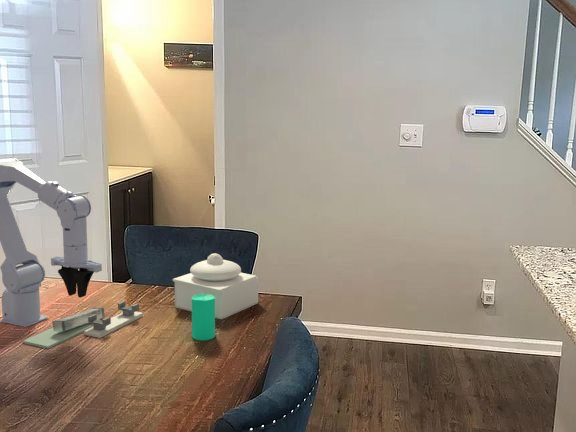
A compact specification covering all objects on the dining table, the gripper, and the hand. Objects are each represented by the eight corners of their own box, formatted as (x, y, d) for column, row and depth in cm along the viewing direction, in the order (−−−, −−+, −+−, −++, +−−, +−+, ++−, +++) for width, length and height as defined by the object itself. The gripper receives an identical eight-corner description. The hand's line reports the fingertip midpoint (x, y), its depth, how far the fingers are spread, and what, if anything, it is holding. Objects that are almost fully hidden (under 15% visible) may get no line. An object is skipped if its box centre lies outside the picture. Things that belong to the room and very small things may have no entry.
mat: (22, 343, 156) (22, 340, 156) (68, 322, 170) (68, 320, 170) (48, 348, 153) (48, 346, 153) (92, 327, 167) (92, 325, 167)
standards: (83, 334, 162) (83, 319, 161) (127, 313, 178) (127, 299, 178) (100, 338, 160) (99, 322, 159) (143, 316, 176) (142, 301, 176)
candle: (210, 341, 160) (210, 295, 158) (188, 339, 161) (188, 293, 159) (218, 332, 166) (218, 288, 163) (196, 330, 167) (196, 286, 164)
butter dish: (258, 303, 190) (258, 252, 187) (220, 320, 175) (220, 265, 172) (212, 293, 199) (212, 243, 196) (173, 308, 184) (172, 255, 181)
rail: (53, 331, 160) (52, 321, 160) (95, 316, 175) (95, 307, 175) (62, 331, 159) (61, 321, 159) (104, 316, 174) (103, 307, 173)
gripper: (41, 243, 159) (43, 295, 161) (87, 250, 153) (89, 304, 156) (61, 238, 165) (63, 288, 168) (106, 244, 160) (107, 296, 162)
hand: (77, 295), depth 162 cm, fingers open, 3 cm apart
